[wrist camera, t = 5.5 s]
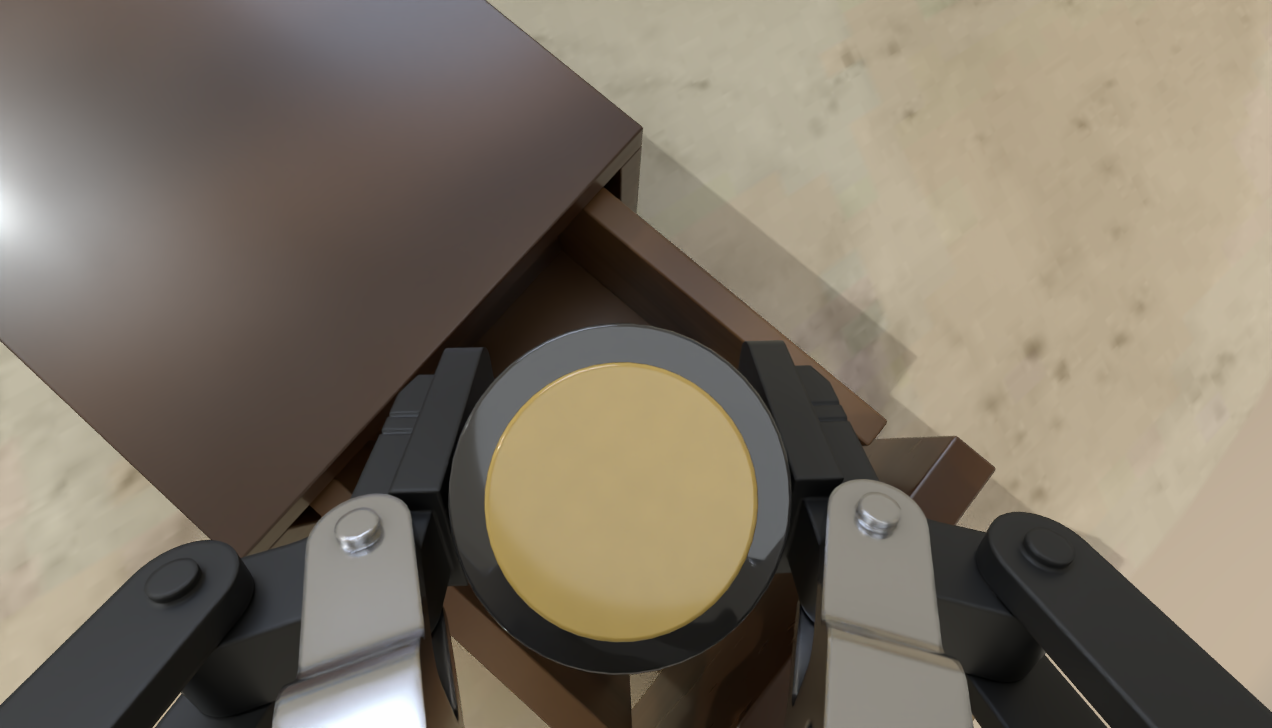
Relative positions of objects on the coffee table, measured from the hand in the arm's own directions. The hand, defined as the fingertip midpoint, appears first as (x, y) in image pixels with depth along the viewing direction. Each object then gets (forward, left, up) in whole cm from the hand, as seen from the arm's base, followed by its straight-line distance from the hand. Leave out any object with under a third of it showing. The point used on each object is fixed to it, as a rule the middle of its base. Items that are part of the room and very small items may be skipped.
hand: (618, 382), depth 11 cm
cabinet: (+11, +1, -10) cm, 14 cm away
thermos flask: (-1, +1, -8) cm, 8 cm away
